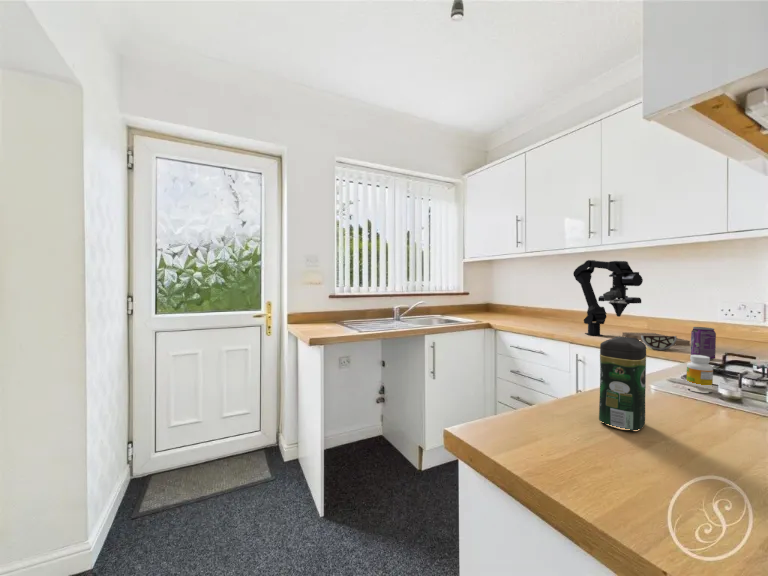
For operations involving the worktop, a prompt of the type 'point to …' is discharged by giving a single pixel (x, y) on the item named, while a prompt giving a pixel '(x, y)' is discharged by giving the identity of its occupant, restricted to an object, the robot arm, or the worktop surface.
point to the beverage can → (703, 342)
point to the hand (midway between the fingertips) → (618, 316)
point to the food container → (659, 341)
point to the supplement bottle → (700, 370)
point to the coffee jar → (622, 382)
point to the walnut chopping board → (638, 335)
